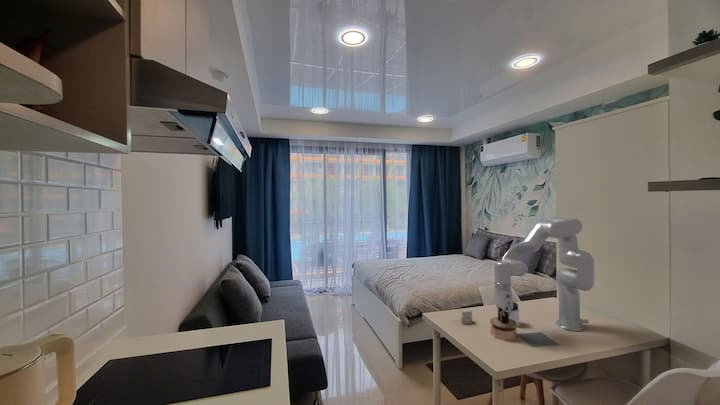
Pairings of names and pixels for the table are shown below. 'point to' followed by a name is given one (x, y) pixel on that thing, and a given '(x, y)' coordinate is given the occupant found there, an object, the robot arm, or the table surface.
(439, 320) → the table surface
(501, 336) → the bowl
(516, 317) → the jar
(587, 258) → the robot arm
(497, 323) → the lid
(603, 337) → the table surface
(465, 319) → the architectural model
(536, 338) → the mat
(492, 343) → the table surface
